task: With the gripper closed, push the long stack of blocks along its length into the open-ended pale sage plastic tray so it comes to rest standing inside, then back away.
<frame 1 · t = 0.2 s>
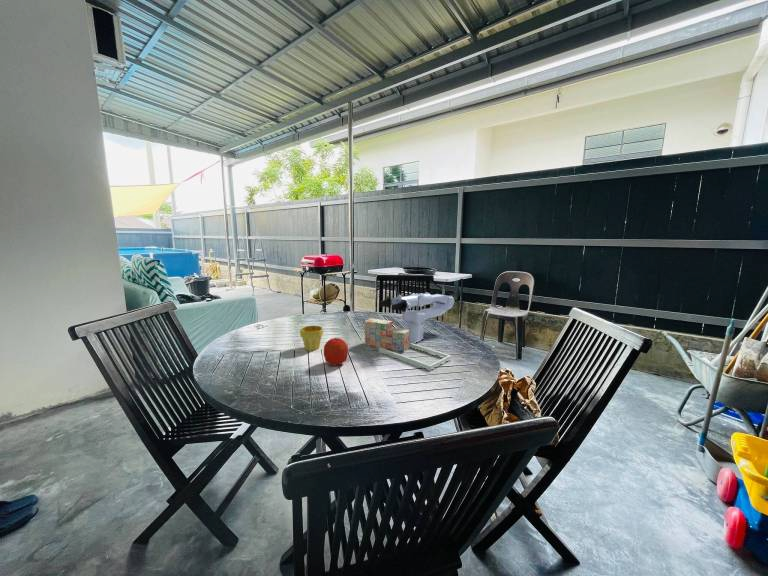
hand: (386, 305, 142), 22 cm above the table, tool horizontal, fingers open, 7 cm apart
stack of blocks: (386, 346, 151), on the table
apple: (336, 364, 130), on the table
plant pot: (312, 348, 147), on the table
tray: (413, 355, 140), on the table
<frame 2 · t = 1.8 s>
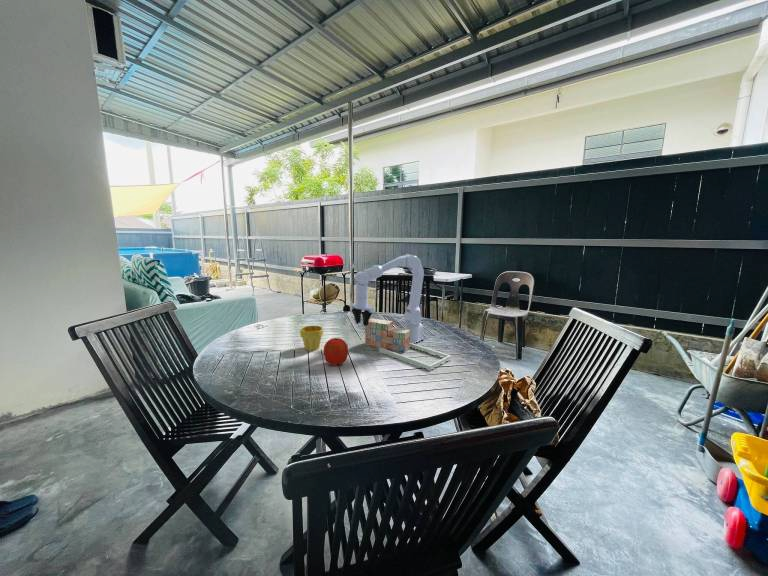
hand: (361, 324, 151), 10 cm above the table, tool pointing down, fingers open, 5 cm apart
nothing on the table moved.
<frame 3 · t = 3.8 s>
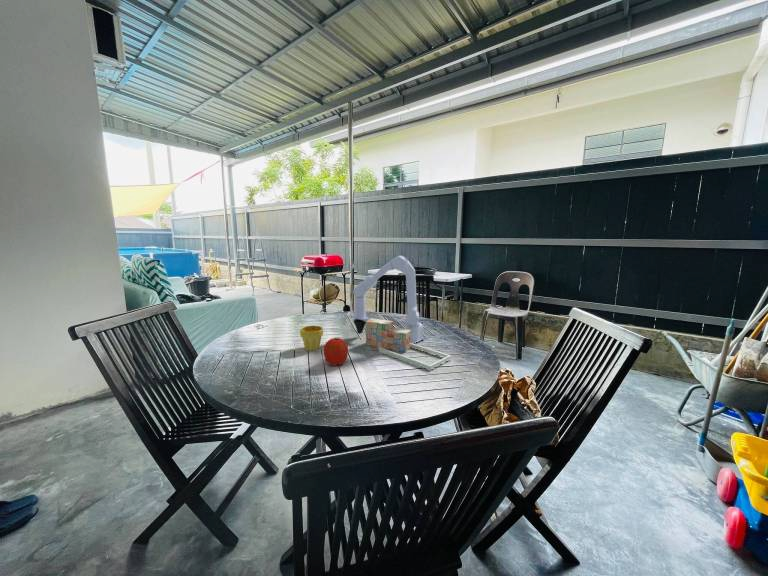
hand: (359, 333, 163), 2 cm above the table, tool pointing down, fingers closed
nothing on the table moved.
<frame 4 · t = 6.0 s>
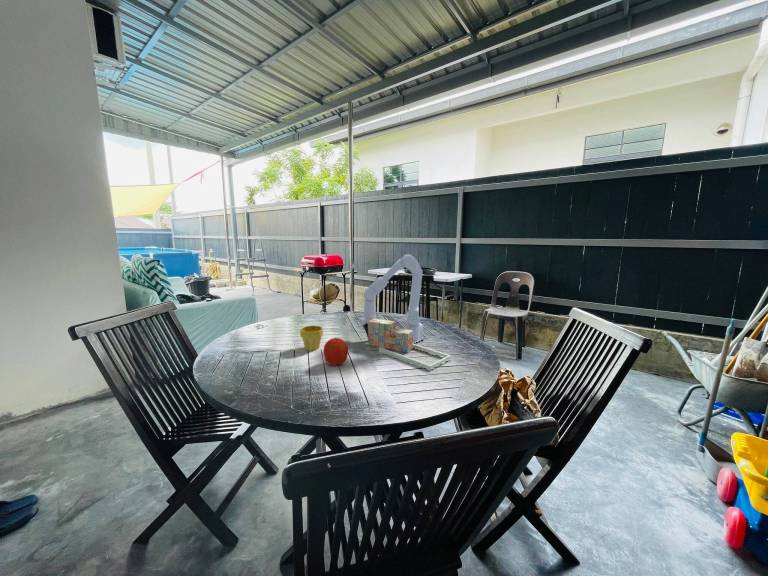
hand: (369, 337, 159), 1 cm above the table, tool pointing down, fingers closed
stack of blocks: (389, 347, 150), on the table, touching gripper
everything else where it was.
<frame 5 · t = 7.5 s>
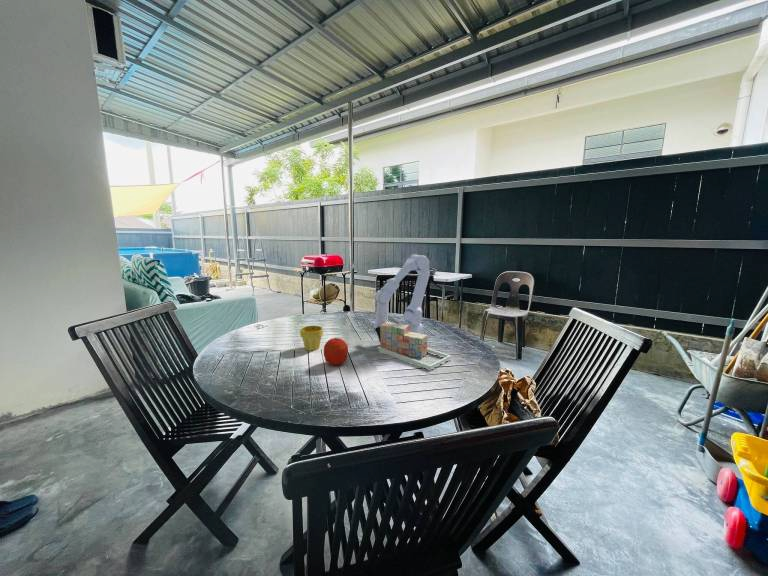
hand: (381, 341, 153), 1 cm above the table, tool pointing down, fingers closed
stack of blocks: (403, 352, 144), on the table, touching gripper
everything else where it was.
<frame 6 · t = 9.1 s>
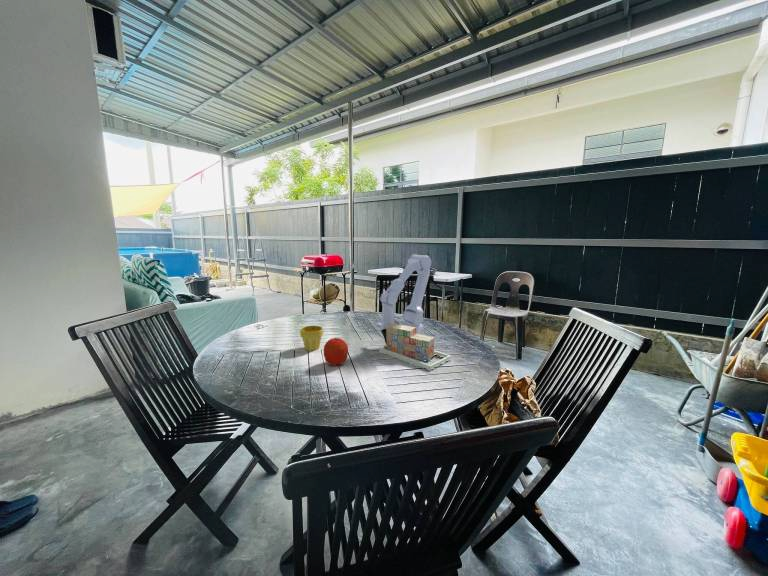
hand: (387, 344, 150), 1 cm above the table, tool pointing down, fingers closed
stack of blocks: (409, 354, 141), on the table, touching gripper
everything else where it was.
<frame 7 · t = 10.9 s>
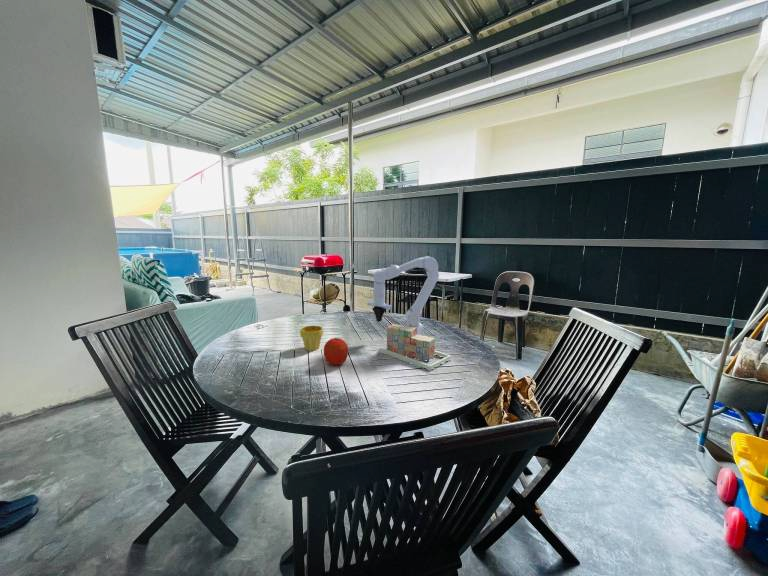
hand: (379, 321, 157), 10 cm above the table, tool pointing down, fingers closed
stack of blocks: (409, 355, 141), on the table
everything else where it was.
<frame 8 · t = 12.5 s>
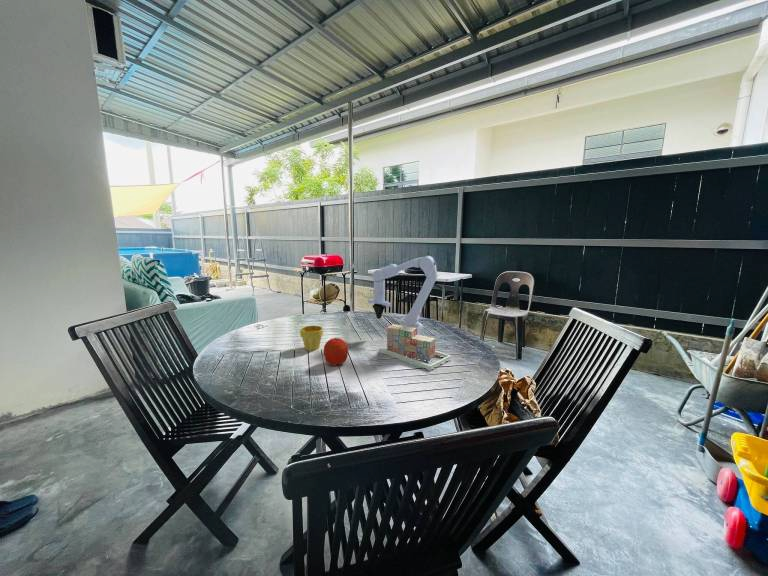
hand: (378, 318, 162), 10 cm above the table, tool pointing down, fingers closed
nothing on the table moved.
at the end: stack of blocks inside the target area on the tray (0.5 cm from its centre), point 0.0 cm above the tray's base; stack of blocks tilted 0°; stack of blocks moved 15.1 cm from its start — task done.
